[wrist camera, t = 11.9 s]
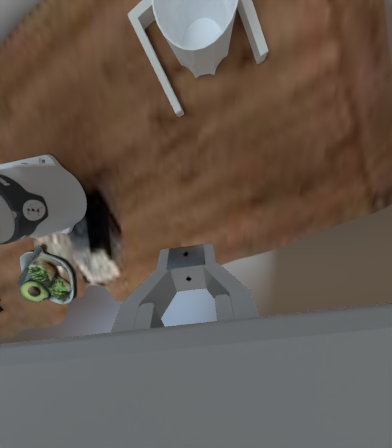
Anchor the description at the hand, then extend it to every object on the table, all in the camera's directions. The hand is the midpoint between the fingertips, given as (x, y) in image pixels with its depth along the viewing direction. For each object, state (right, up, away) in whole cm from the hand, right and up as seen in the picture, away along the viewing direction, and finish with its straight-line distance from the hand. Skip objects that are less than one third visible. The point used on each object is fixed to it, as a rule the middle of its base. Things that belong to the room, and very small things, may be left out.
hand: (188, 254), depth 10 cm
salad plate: (-43, -14, +41) cm, 62 cm away
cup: (+2, +31, +19) cm, 36 cm away
